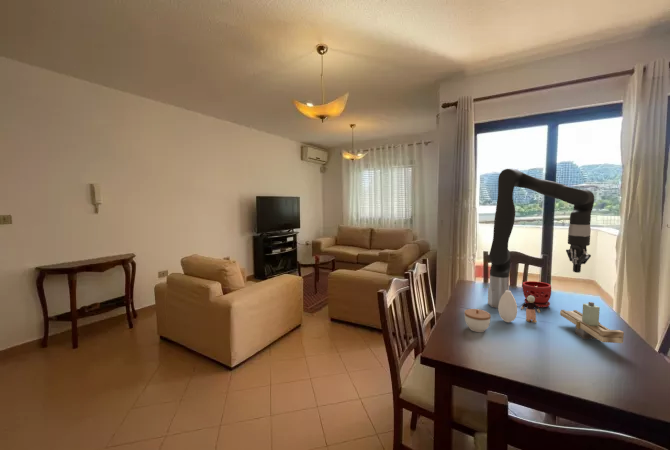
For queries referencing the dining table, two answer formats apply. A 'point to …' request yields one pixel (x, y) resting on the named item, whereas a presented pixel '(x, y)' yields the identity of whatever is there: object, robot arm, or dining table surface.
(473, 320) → the lidded jar
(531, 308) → the grandmother figurine
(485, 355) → the dining table surface
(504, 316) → the white teardrop vase
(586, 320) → the block
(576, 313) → the beam
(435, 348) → the dining table surface
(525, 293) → the plant pot
